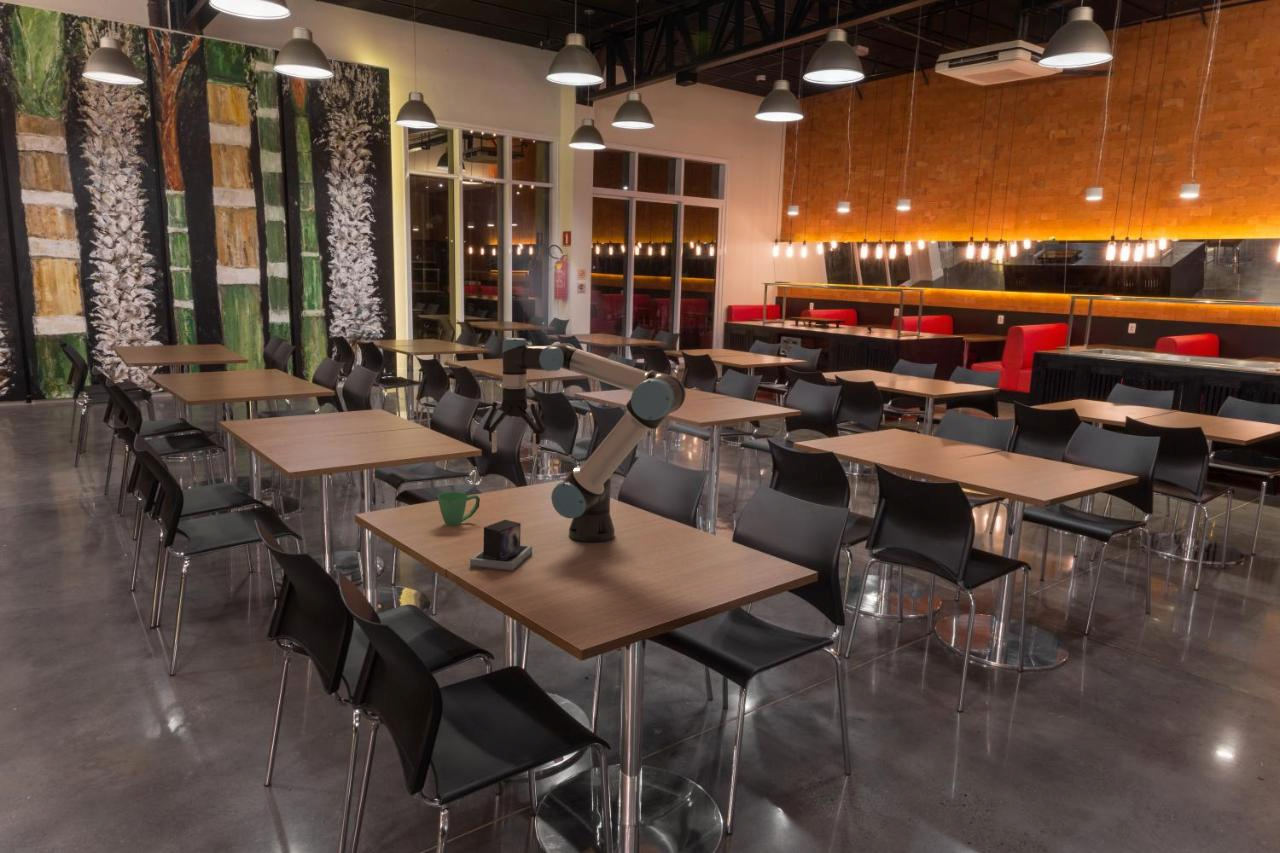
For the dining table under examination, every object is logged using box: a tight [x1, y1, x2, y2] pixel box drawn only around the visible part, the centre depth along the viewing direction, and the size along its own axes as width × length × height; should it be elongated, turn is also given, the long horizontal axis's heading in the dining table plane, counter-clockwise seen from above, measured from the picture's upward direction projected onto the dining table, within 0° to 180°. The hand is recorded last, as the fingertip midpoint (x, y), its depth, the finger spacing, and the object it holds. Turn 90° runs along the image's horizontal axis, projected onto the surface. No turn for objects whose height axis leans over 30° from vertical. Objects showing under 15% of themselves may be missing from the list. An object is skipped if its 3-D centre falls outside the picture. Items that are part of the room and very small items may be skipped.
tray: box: [469, 544, 533, 573], centre depth 253 cm, size 13×17×2 cm
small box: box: [482, 519, 522, 561], centre depth 252 cm, size 11×6×10 cm, turn 151°
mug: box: [437, 491, 481, 527], centre depth 288 cm, size 15×10×10 cm
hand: (514, 453), depth 270 cm, fingers open, 13 cm apart
